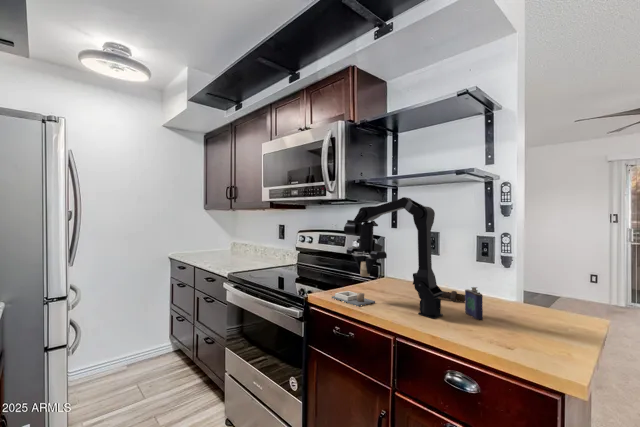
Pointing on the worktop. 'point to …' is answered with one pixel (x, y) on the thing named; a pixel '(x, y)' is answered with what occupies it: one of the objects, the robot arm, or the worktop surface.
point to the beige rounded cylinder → (364, 270)
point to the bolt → (453, 296)
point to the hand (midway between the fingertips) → (365, 273)
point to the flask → (474, 304)
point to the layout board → (352, 298)
